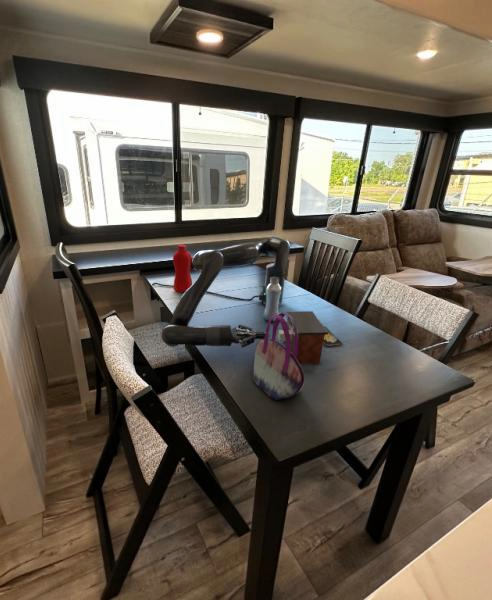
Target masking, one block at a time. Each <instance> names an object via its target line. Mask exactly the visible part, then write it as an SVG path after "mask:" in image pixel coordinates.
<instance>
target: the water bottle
mask: <svg viewBox="0 0 492 600" xmlns="http://www.w3.org/2000/svg"><path fill="white" fill-rule="evenodd" d="M176 249H177V251H176V252H175V253H173V257H172V263H173V266H174V269H175V271H174V272H175V274H174V280H173V286H174V287H173V289H174V291H176V292H178V293H185V292H186V291H187V290H188V289H189V288H190V287H191V286H192V285H193V280H192V279H193V278H192V277H191V276H192V275H191V266H192V260H193V258H192V254H191V252H189V250H188V249H187V246H186V245H185V244H179V245H177V247H176Z"/></svg>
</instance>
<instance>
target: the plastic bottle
mask: <svg viewBox="0 0 492 600" xmlns="http://www.w3.org/2000/svg"><path fill="white" fill-rule="evenodd" d="M270 282H271V283H270V284H269V285H268V286H267V288H266V295H267V299H266V300H267V301H266V305H265V308H264V311H263V317H264V319H265V320H266V321H267V322H268V321H269V319H270V318H271V317H272V316H273V315H279V314H280V311H279V307H278V303H279V298H280V294H281V287H280V285H279V284H278V283H279V278H278V277H271V278H270ZM275 320H276V317H274V318H273V319H272V320H271V322H275Z"/></svg>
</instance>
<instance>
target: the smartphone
mask: <svg viewBox="0 0 492 600" xmlns="http://www.w3.org/2000/svg"><path fill="white" fill-rule="evenodd" d="M323 326H324V327H325V329H326V330H327V331H328V334H325V336H324V342H323V345H324V346H326V347H332V346H340V345H341V346H342V344H343V342H342V341H341V340H340V339H339V338H338V337H336V335H335V334H333V332H332V331H330V330H329V329H328V327H326V326H325V325H323Z"/></svg>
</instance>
